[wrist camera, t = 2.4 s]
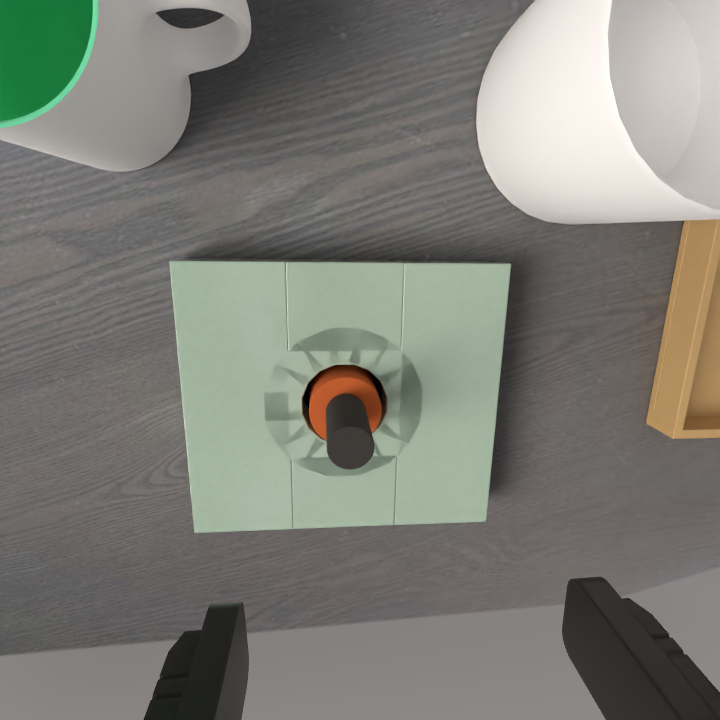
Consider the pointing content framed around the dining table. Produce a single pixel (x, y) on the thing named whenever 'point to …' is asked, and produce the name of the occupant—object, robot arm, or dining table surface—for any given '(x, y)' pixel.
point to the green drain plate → (323, 350)
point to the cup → (606, 111)
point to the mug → (107, 75)
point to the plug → (345, 413)
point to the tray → (691, 340)
